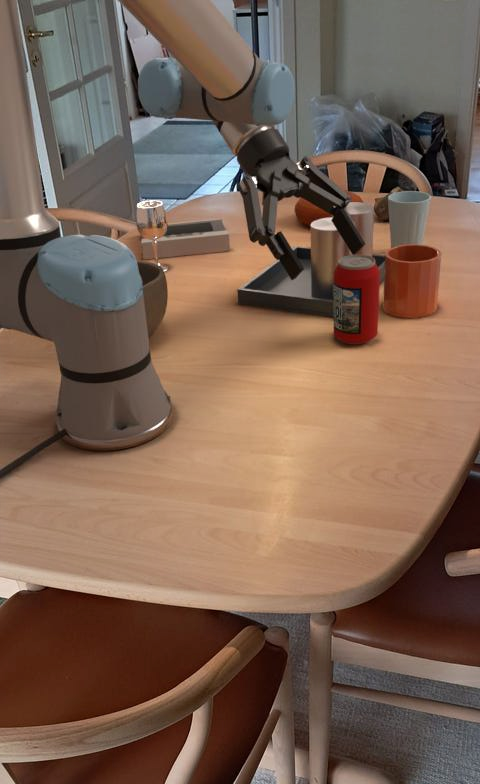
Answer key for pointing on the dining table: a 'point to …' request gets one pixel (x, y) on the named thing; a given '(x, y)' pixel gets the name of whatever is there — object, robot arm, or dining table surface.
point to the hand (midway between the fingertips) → (329, 261)
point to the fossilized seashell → (384, 205)
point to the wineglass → (152, 223)
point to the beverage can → (356, 299)
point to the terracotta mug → (411, 280)
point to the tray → (290, 287)
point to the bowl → (153, 293)
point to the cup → (408, 217)
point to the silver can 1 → (325, 257)
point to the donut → (316, 210)
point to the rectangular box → (189, 239)
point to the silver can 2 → (363, 224)
